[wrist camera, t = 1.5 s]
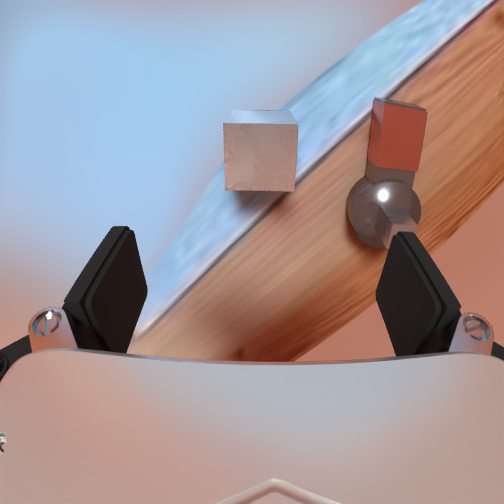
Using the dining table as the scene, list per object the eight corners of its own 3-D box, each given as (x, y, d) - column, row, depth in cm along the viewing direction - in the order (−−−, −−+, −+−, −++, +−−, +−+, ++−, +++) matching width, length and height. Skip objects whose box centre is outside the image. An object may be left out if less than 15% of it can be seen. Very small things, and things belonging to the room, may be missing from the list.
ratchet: (359, 95, 24) (385, 106, 18) (427, 107, 23) (463, 122, 18) (341, 232, 31) (356, 270, 26) (401, 234, 31) (424, 270, 26)
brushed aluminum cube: (287, 165, 27) (294, 191, 23) (231, 164, 28) (225, 190, 23) (290, 111, 25) (298, 124, 20) (230, 110, 25) (223, 123, 20)
